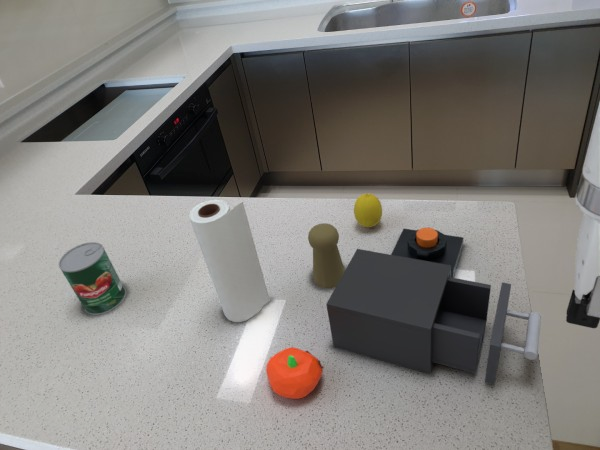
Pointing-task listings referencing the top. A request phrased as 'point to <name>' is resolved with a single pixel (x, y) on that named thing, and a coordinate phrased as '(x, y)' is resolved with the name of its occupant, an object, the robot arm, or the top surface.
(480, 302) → the basket drawer
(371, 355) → the dark grey drawer cabinet
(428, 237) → the button
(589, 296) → the robot arm
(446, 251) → the control block
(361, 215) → the lemon
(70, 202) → the top surface
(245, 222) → the paper towel roll
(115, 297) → the canned tomato
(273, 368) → the pumpkin
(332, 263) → the pepper mill
